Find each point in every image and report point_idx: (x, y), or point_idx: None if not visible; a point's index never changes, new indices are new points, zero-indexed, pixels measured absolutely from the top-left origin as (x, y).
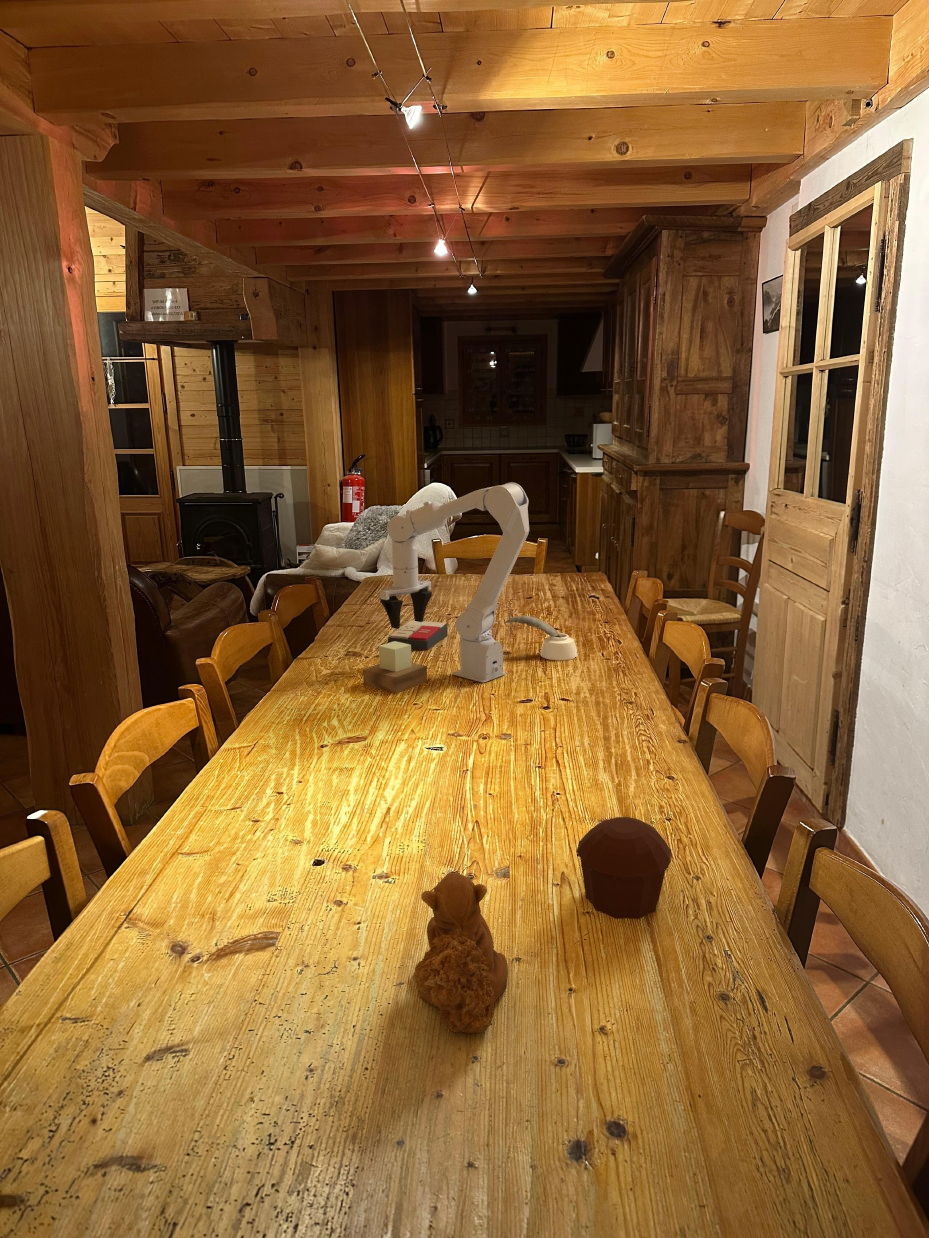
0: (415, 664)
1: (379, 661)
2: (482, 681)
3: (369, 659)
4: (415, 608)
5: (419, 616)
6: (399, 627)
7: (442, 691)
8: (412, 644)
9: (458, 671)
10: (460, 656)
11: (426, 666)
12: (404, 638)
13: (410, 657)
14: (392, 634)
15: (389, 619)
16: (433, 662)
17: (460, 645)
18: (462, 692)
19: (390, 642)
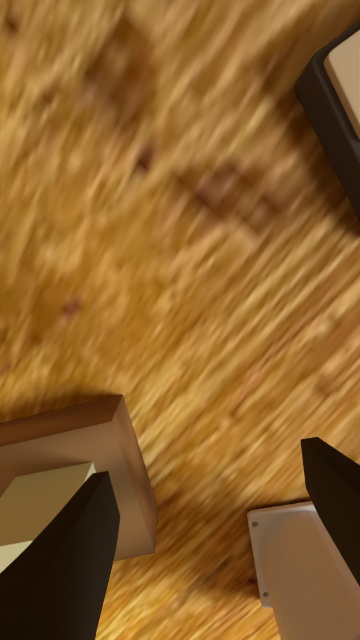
0: (135, 518)
1: (3, 494)
2: (262, 604)
3: (137, 198)
4: (354, 515)
5: (322, 507)
6: (119, 522)
7: (143, 584)
8: (355, 186)
9: (269, 518)
10: (284, 580)
11: (152, 552)
12: (357, 135)
13: None
14: (345, 51)
15: (61, 514)
16: (289, 378)
17: (297, 635)
18: (178, 615)
19: (32, 540)
